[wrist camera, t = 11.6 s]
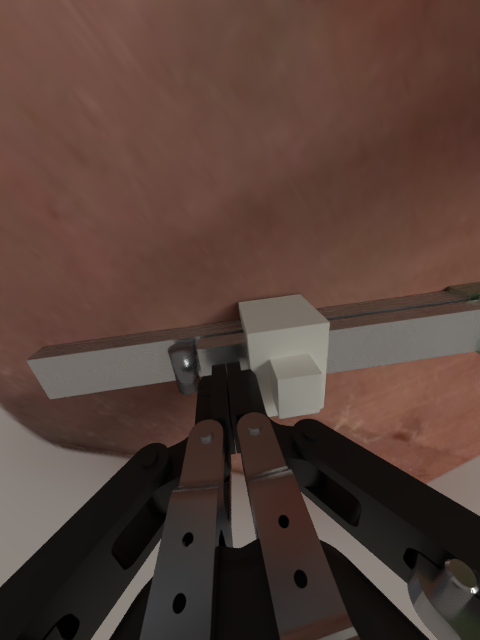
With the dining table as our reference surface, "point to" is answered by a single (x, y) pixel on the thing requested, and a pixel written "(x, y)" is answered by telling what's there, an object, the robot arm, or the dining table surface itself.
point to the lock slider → (287, 353)
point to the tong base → (179, 350)
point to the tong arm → (374, 338)
